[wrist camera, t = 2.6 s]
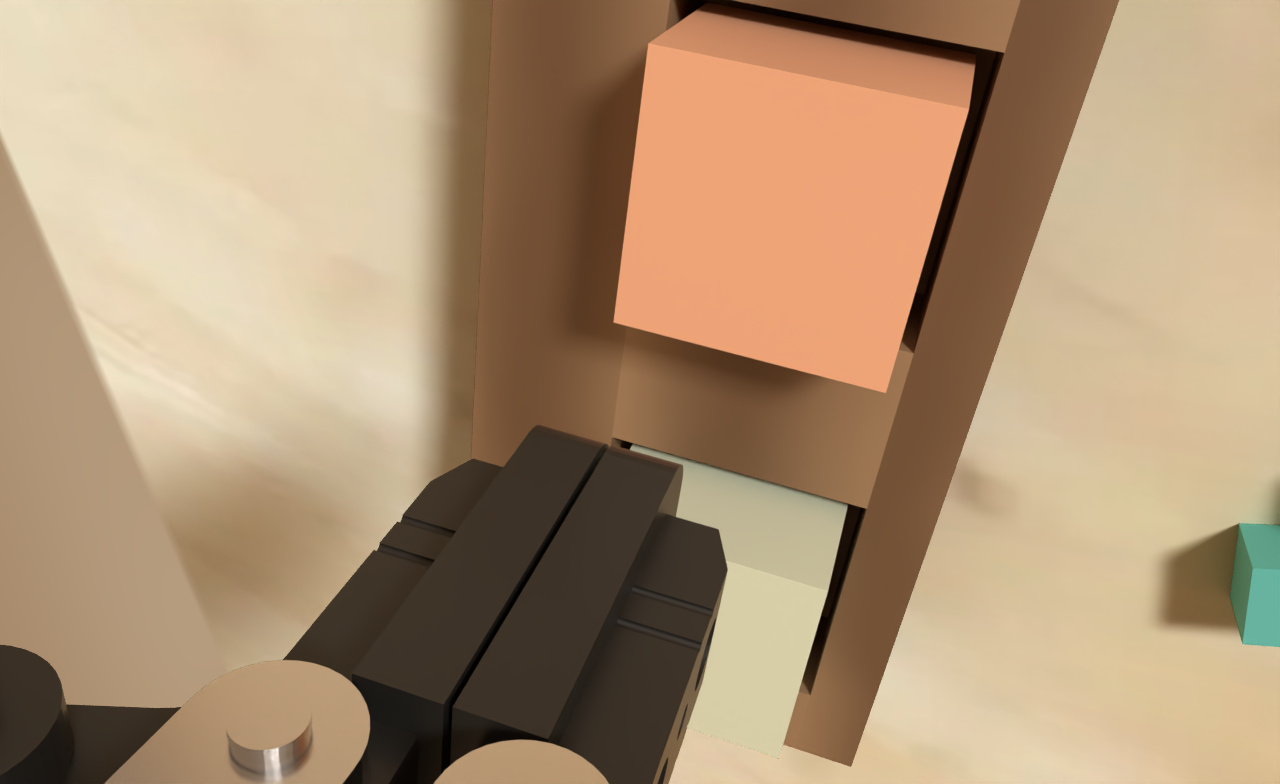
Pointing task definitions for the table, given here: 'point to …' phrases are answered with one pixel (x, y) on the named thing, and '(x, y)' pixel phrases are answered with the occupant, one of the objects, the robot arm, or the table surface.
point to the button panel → (737, 385)
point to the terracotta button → (788, 188)
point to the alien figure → (1257, 584)
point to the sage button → (759, 597)
